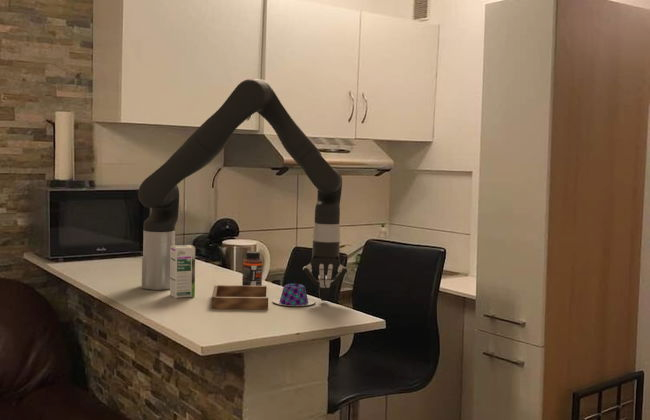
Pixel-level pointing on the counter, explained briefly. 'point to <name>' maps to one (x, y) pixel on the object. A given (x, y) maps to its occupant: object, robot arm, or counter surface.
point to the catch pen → (248, 298)
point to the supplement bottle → (252, 269)
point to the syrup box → (182, 271)
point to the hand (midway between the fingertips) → (323, 300)
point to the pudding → (294, 296)
